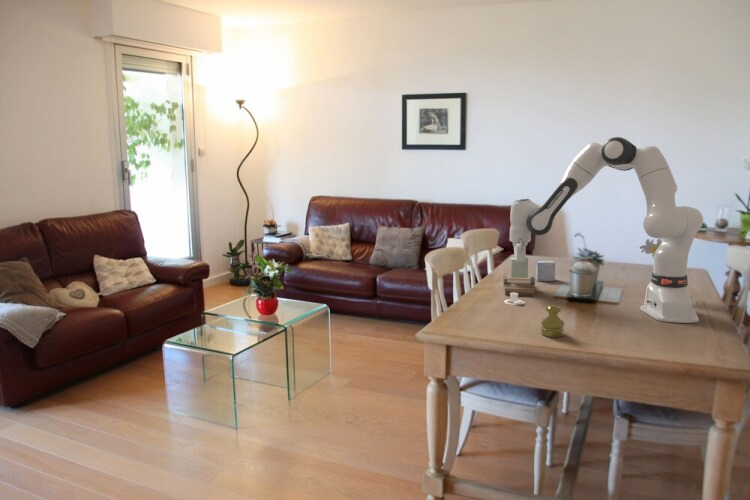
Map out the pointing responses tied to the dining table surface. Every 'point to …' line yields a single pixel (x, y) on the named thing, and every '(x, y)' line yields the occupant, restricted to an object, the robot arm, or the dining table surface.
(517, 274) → the green block
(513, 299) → the teacup and saucer
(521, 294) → the stand
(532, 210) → the robot arm
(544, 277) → the medicine box
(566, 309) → the dining table surface
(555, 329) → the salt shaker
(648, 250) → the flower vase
